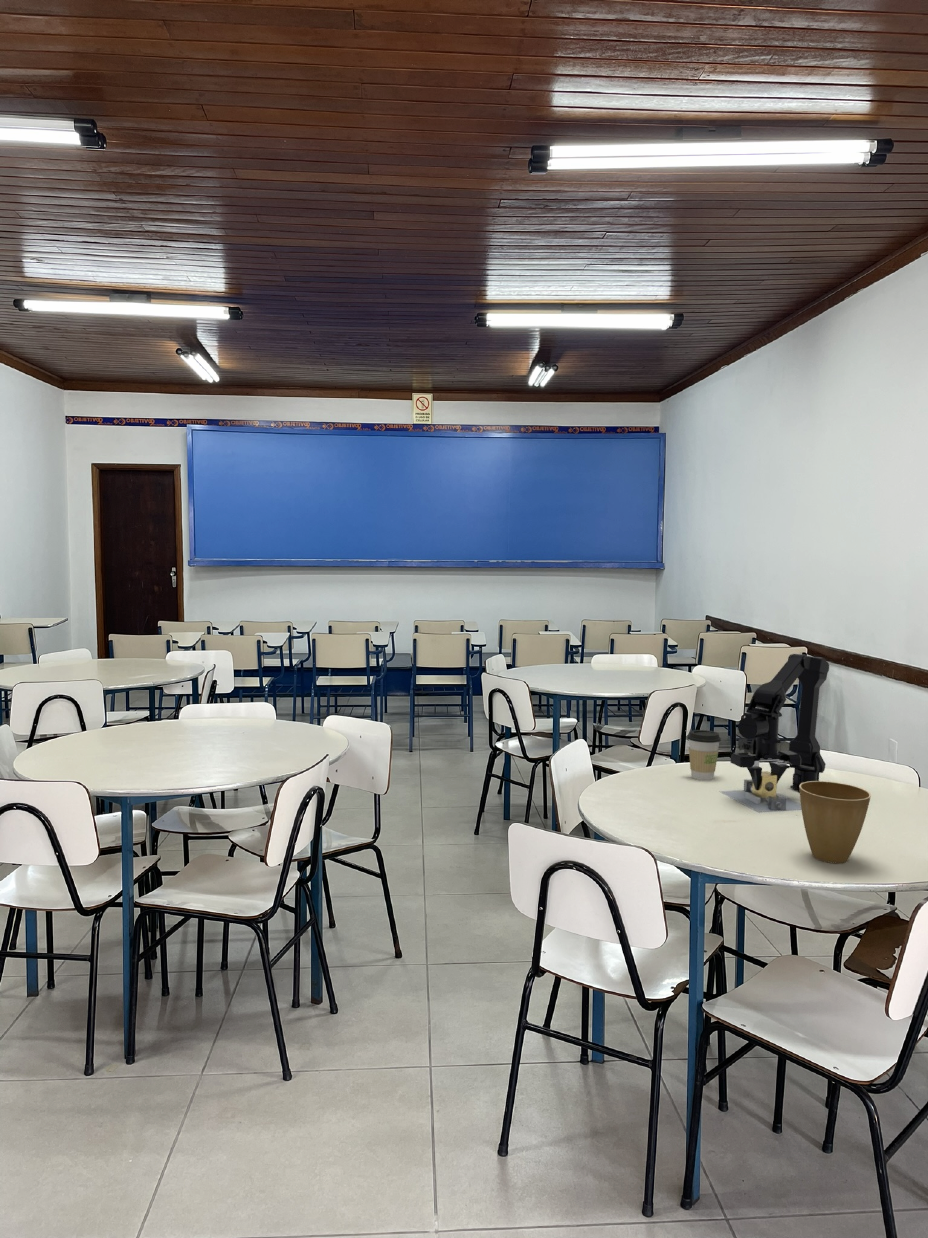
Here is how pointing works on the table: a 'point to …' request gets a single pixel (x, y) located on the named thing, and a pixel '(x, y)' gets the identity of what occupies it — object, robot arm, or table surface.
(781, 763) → the robot arm
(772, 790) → the block
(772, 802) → the shaft
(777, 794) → the grey base plate
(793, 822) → the table surface
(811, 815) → the plant pot
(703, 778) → the coffee cup
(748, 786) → the shaft
